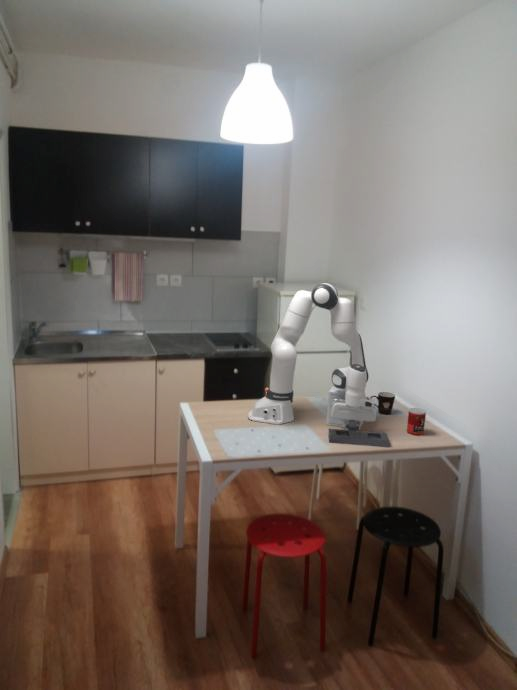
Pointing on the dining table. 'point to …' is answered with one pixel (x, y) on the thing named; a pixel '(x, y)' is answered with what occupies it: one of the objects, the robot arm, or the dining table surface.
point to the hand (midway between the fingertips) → (352, 428)
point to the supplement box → (333, 394)
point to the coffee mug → (385, 402)
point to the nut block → (352, 425)
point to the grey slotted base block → (358, 437)
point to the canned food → (416, 421)
